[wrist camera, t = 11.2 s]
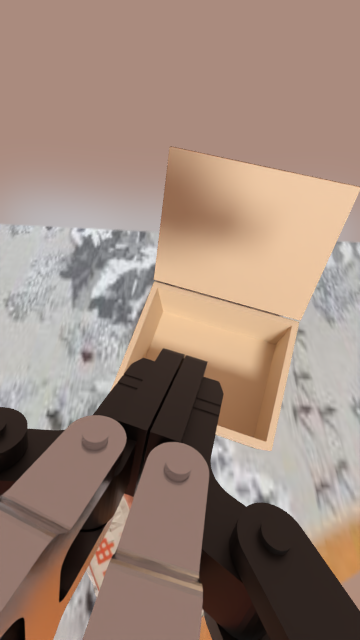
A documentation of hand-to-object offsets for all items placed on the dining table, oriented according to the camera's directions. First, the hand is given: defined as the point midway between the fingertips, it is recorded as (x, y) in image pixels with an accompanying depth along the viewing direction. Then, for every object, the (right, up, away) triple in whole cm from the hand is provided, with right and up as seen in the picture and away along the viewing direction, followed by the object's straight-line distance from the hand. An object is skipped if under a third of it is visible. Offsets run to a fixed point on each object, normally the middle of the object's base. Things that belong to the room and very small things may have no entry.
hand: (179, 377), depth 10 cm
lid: (+6, +9, +19) cm, 22 cm away
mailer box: (+3, -5, +29) cm, 29 cm away
